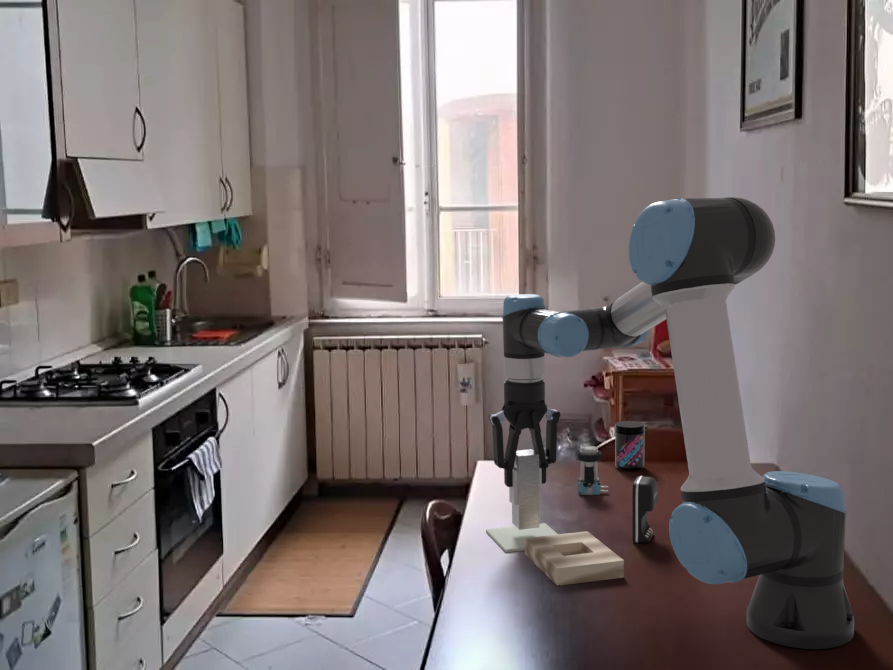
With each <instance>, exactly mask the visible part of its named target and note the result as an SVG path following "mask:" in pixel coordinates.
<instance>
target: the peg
mask: <svg viewBox="0 0 893 670" xmlns="http://www.w3.org/2000/svg"><path fill="white" fill-rule="evenodd" d="M514 469H516V470H517V481H518V505H513V504H512V503H511V520H512V521H511V523H512V524H513V526H516V527H517V528H518V529H519V530H522V529H531V528H539V524H540V503H539V454H538V453H536V452H535V451H534V449H533V448H531V449H520V450H518V449H517V452H516V457H515V463H514Z"/></svg>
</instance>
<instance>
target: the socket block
mask: <svg viewBox="0 0 893 670" xmlns="http://www.w3.org/2000/svg"><path fill="white" fill-rule="evenodd" d="M557 534H558V535H549V536H540V537H531V538H525V550H524V555H525V556H526V557H527V558H528V559H529V560H530V561H531V562H532V563H533V564H534V565H536V567H537V568H538V569H540V571H541V572H542V573H543V574H545V576H546V577H547V578H548V579H549V580H551V582H552V583H554V585H555V586H559V585H560V586H566V585H575V584H581V583H590V582H599V581H606V580H614V579H622V578H624V577H625V560H624V558H622V557H620V556H619V555H618V554H616V553H615V552H614V551H613V550H611V549H610V548H609V547H608V546H606V545H605V544H604V543H603V542H602V541H600V540H599V539H598V538H596V537H595V536H594V535H593V534H592V533H590V531H578V532H569V533H557Z"/></svg>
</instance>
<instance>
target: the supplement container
mask: <svg viewBox="0 0 893 670" xmlns="http://www.w3.org/2000/svg"><path fill="white" fill-rule="evenodd" d="M645 429H646V426H645V423H644V422H642V421H638V420H637V421H635V420H623V421H621V420H620V421H617V422H615V425H614V432H615V434H614V435H615V436H614V437H615V438H614V439H615V442H614V443H615V444H614V448H615V449H614V451H615V452H614V453H615V454H614V455H615V456H614V457H615V458H614V460H615V461H614V464H615V466H614V467H616V469H617V470H619V471H623V472H637V471H641V470H643V469H644V467H645V431H646V430H645Z"/></svg>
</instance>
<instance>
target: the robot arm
mask: <svg viewBox="0 0 893 670" xmlns="http://www.w3.org/2000/svg"><path fill="white" fill-rule="evenodd" d="M775 245H776V230H775V227H774V224H773V221H772V220H771V218H770V216H769V215H768V213H766V211H765V210H764V209H763V208H762V207H760V205H758V204H756V202H753V201H751V200H749V199H745V198H742V197H734V196H733V197H732V196H731V197H711V198H709V197H707V198H704V197H703V198H700V197H699V198H695V197H694V198H692V197H691V198H687V197H686V198H682V197H678V198H674V199H673V198H672V199H667V200H660V201H656V202H653V203H651V204H648V206H646V207H645V208H644V209H643V210H641V212H640V213H639V215H638V216H637V218H636V220H635V223H634V224H633V226H632V227H631V231H630V235H629V239H628V259H629V260H628V261H629V264H630V268H631V270H632V272H633V274H636V278H637V279H638V280H639V281H641V282H639V284H637V285H636V286H634V287H633V288H631V289H630V290H629V291H627V292H626V293H624V294H622V295H621V296H620V297H618V298H617V299H615V300H613V301H612V302H610V303H609V304H607V305H604V306H596V307H595V306H594V307H589V308H588V307H587V308H578V309H577V308H575V309H564V310H552V309H551V310H550V309H546V306H545V299H544V298H543V296H541V295H540V294H535V293H525V294H524V293H521V294H519V293H518V294H511V295H507V296H506V297H505V298H504V299H503V307H502V308H503V310H502V312H503V313H502V315H501V318H502V335H503V336H502V339H503V340H502V341H503V343H502V344H503V376H504V378H506V379H504V381H503V394H504V395H503V402H504V403H503V406H502V408H501V411H499V412H497V413H495V414H494V413H490V414H489V415H488V420H489V422H490V424H491V426H492V427H491V429H492V445H493V447H492V448H493V462H494V465H495V466H496V467H498V468H499V469H503V471H504V473H503V474H504V475H503V477H504V478H503V479H504V480H503V481H504V485H505V486H506V487H507V488H508V490H509V491H508V494H509V502H510V503H511V505H512V504H513V505H518V481H517V470H516V469H514V463H515V457H516V452H517V450H518V445H519V440H520V436H521V434H522V431H523V430H525V429H528V430H529V432H530V437H531V442H532V446H533V447H532V448H533V451H535V452H536V453H538V454H539V504H540V503H543V498H542V497H543V492H542V491H543V484H544V485H545V484H546V482H547V468H549V465H550V464H555V463H556V462H557V446H558V444H557V442H558V440H557V439H558V423H559V420H560V418H561V412H560V411H558V410H557V409H554V408H549V407H548V405H547V404H546V400H545V399H546V382H545V381H546V380H544V379H543V378H544V377H545V376H546V370H545V369H546V366H545V365H546V364H545V360H546V359H545V354H547V355H550V356H554V357H557V358H558V357H559V358H562V357H563V358H573V357H576V356H577V355H578V354H580V353H581V352H587V351H589V352H591V351H595V350H606V349H608V350H609V349H616V348H617V349H618V348H623V349H624V348H629V347H632V346H635V345H640V344H641V343H643V342H644V341H645V340H646V338H647V336H648V335H649V332H650V330H651V329H652V328H653V327H656V326H658V325H659V324H661V323H662V322H664V321H665V320H666V324H667V325H666V326H667V332H668V338H669V339H668V340H669V345H670V347H669V348H670V352H671V359H672V365H673V372H674V374H673V375H674V380H675V386H676V391H677V392H676V394H677V398H678V399H677V400H678V401H677V402H678V407H679V414H680V420H681V426H682V428H681V429H682V433H683V439H684V440H683V441H684V447H685V453H686V454H685V455H686V461H687V466H688V467H687V468H688V473H689V474H688V476H687V478H686V480H685V481H684V482H683V483H682V485H681V487H680V493H681V500H682V501H681V502H682V503H681V504H679V505H678V506H677V507H676V508H674V509H673V511H672V513H671V517H670V519H669V520H668V521H669V522H668V523H669V524H668V533H669V539H670V543H671V547H672V549H673V552H674V554H675V556H676V558H677V560H678V561H679V562H680V565H681V566H682V567H684V568H685V569H686V571H687V572H688V574H690V575H691V576H692V577H693V578H694V579H696V580H698V581H700V582H702V583H704V584H709V585H720V584H726V583H733V584H734V583H739V582H741V581H742V580H745V579H748V578H749V579H750V578H751V577H756V576H758V579H757V581H756V584H755V586H754V589H753V592H752V595H751V598H750V600H749V601H750V602H749V603H748V605H747V609H746V625H747V627H748V629H749V631H751V633H753V634H754V635H755V636H757V637H759V638H760V639H763V640H764V641H766V642H767V641H768V642H770V643H773V644H776V645H780V646H784V647H789V648H794V649H803V650H805V649H806V650H822V649H824V650H825V649H833V648H837V647H840V646H843V645H846V644H847V643H849V642H850V641H852V640H853V638H854V636H855V616H854V613H853V610H852V607H851V604H850V601H849V598H848V595H847V591H846V587H845V585H844V558H845V555H844V554H845V536H846V534H845V532H846V517H847V516H846V514H847V509H846V493H845V491H844V488H843V487H842V486H841V485H840V484H839V483H838V482H836V481H834V480H831V479H829V478H825V477H822V476H818V475H815V474H814V475H813V474H809V473H802V472H795V471H785V470H784V471H783V470H782V471H781V470H777V471H776V470H775V471H767V472H765V473H764V474H762V475H761V474H760V473H758V472H756V470H754V469H753V468H752V463H751V457H750V449H749V443H748V438H747V436H748V435H747V430H746V425H745V417H744V411H743V403H742V398H741V390H740V383H739V379H738V371H737V365H736V358H735V351H734V347H733V346H734V344H733V338H732V332H731V331H732V330H731V325H730V319H729V311H728V306H727V299H728V297H729V295H730V294H731V293H732V291H733V290H734V289H735V287H736V285H738V284H740V283H741V282H743V281H745V280H746V279H748V278H751V276H753V275H755V274H756V273H758V272H759V271H760V270H761V269H762V268H764V266H765V265H767V264H768V262H769V260H770V259H771V257H772V255H773V253H774V250H775ZM544 417H545V419H546V427H545V428H546V431H545V434H546V435H545V447H544V443H543V437H542V429H541V425H540V424H541V421H542V419H543V418H544ZM504 418H505V419H506V421H508V423H509V426H508V427H509V428H508V438H507V443H506V449H505V453H504V436H503V434H504V432H503V431H504V430H503V426H502V425H503V424H504Z"/></svg>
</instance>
